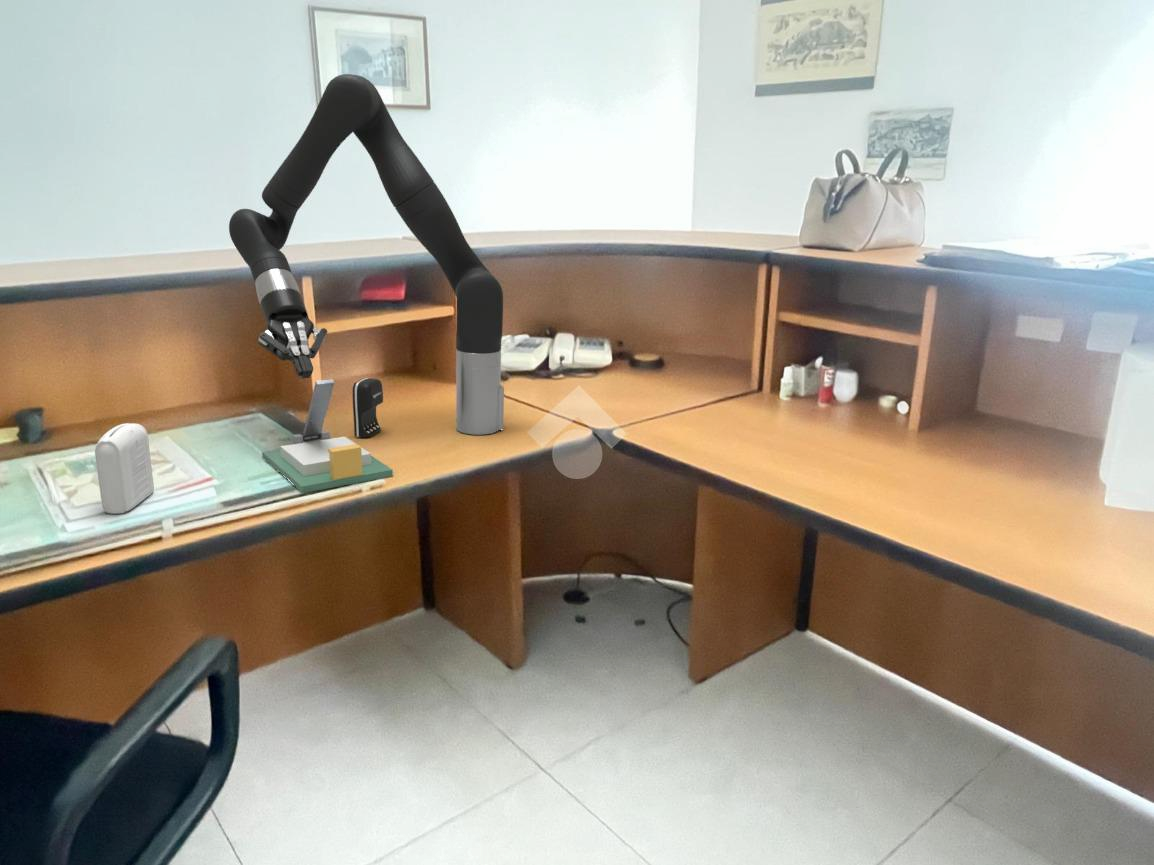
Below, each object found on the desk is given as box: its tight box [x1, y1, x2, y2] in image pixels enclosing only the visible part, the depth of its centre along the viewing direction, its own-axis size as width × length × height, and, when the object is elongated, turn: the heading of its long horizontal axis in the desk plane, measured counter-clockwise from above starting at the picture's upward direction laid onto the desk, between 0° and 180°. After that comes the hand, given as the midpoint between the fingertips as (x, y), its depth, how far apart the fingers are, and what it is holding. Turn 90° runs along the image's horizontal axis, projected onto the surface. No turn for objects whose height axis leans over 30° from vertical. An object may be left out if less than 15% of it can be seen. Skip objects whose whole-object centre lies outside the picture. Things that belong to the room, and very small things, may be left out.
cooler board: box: [261, 429, 394, 494], centre depth 143 cm, size 21×16×6 cm
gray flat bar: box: [301, 378, 335, 443], centre depth 143 cm, size 16×3×1 cm
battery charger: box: [352, 377, 384, 438], centre depth 162 cm, size 7×4×11 cm, turn 167°
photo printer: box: [94, 423, 155, 515], centre depth 123 cm, size 10×4×12 cm, turn 3°
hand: (306, 375), depth 145 cm, fingers closed
